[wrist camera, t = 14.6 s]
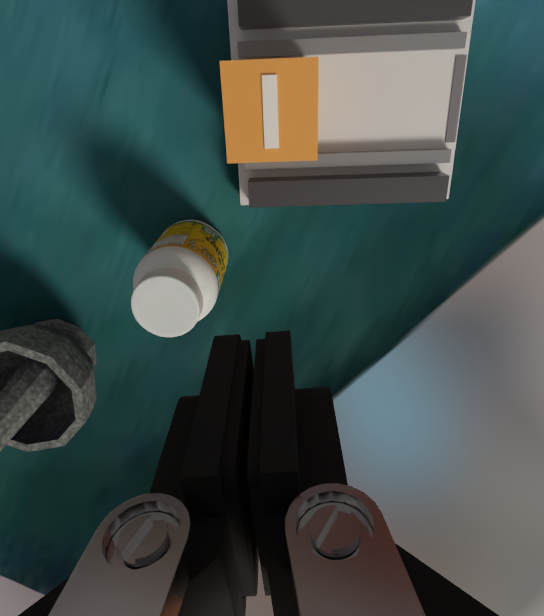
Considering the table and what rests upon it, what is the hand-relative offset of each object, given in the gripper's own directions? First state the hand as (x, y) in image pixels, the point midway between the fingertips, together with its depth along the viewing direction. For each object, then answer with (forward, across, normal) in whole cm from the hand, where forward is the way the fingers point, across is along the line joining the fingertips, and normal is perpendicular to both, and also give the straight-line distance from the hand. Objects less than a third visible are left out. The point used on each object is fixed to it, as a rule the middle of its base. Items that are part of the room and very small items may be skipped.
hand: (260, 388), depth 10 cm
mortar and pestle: (+24, +20, +13) cm, 34 cm away
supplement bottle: (+24, +6, +5) cm, 26 cm away
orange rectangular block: (+22, -1, -5) cm, 23 cm away
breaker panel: (+24, -5, -4) cm, 25 cm away
